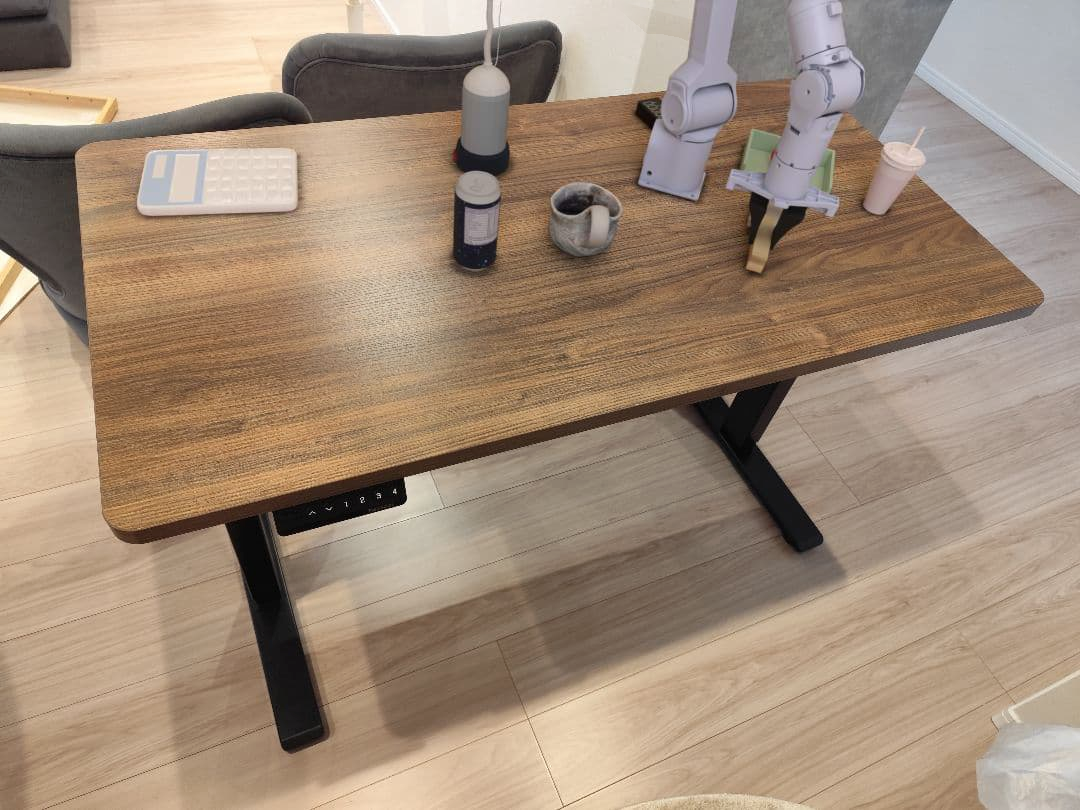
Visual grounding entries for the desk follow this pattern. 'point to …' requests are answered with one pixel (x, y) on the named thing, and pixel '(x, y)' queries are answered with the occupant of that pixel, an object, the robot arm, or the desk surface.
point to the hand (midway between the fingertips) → (760, 242)
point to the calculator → (218, 181)
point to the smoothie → (893, 174)
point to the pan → (762, 159)
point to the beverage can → (476, 220)
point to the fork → (763, 238)
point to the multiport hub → (649, 110)
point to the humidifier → (484, 114)
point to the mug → (583, 218)
